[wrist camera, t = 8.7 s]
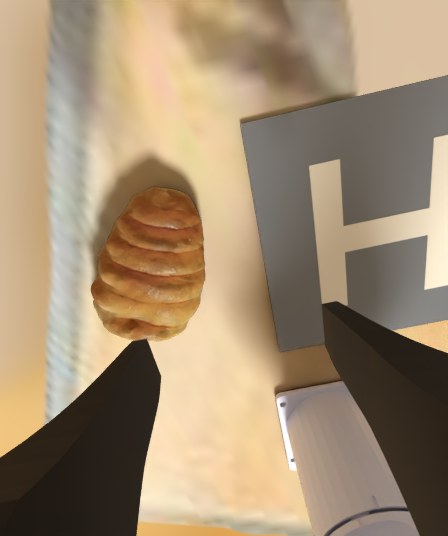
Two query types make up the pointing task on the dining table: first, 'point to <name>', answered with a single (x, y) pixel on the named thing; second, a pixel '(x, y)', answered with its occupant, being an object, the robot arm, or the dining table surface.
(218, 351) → the dining table surface
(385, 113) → the board
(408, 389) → the robot arm
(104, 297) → the pastry
